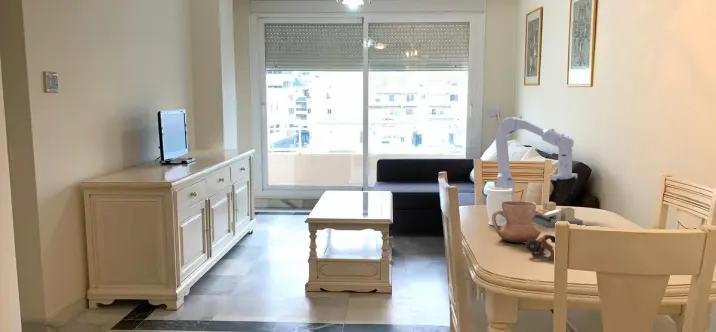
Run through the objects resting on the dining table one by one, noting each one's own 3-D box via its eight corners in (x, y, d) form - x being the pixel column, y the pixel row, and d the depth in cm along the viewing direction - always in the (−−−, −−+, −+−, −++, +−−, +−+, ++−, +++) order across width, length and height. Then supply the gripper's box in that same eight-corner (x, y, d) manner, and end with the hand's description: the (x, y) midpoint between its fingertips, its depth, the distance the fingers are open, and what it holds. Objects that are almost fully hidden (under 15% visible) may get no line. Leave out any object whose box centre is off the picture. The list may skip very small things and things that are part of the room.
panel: (547, 227, 236) (547, 210, 235) (526, 218, 254) (526, 202, 253) (582, 225, 239) (583, 208, 238) (559, 217, 257) (559, 201, 256)
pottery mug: (549, 253, 197) (560, 235, 193) (558, 272, 189) (570, 253, 185) (517, 245, 195) (528, 227, 191) (525, 264, 187) (536, 245, 183)
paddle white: (546, 219, 244) (545, 215, 243) (543, 218, 247) (542, 213, 247) (561, 215, 245) (560, 210, 245) (557, 213, 248) (556, 209, 248)
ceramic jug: (541, 237, 218) (542, 200, 216) (543, 246, 204) (544, 206, 202) (492, 236, 222) (492, 199, 221) (491, 244, 208) (491, 205, 207)
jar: (490, 220, 249) (491, 186, 247) (514, 223, 243) (515, 188, 242) (482, 225, 240) (483, 189, 238) (507, 228, 234) (508, 191, 233)
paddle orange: (541, 214, 247) (542, 209, 247) (537, 212, 250) (538, 208, 250) (555, 217, 248) (556, 213, 248) (551, 216, 252) (553, 211, 251)
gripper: (561, 166, 245) (560, 198, 246) (583, 164, 252) (582, 195, 254) (547, 164, 251) (547, 196, 252) (570, 163, 258) (569, 193, 260)
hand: (563, 195), depth 253 cm, fingers open, 7 cm apart
